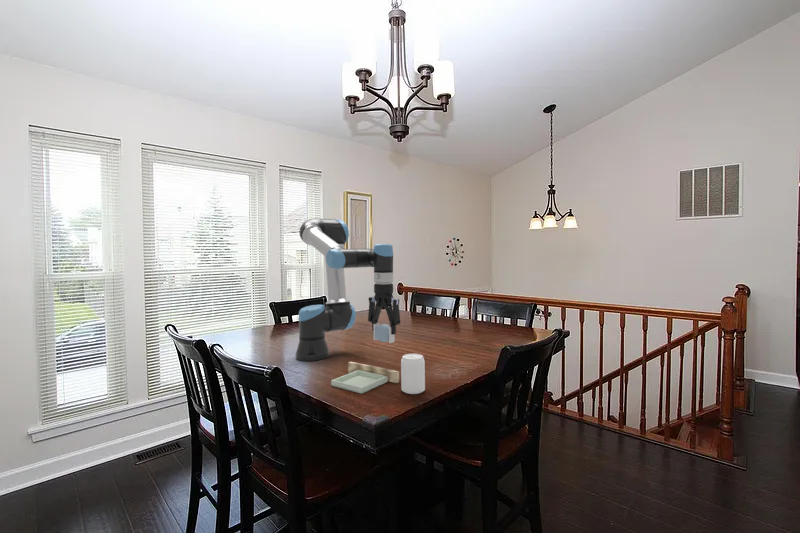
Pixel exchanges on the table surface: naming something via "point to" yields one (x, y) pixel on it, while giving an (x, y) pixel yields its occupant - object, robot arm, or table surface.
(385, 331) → the ball
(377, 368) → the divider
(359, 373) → the tray
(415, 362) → the beverage can
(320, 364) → the table surface
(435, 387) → the table surface
